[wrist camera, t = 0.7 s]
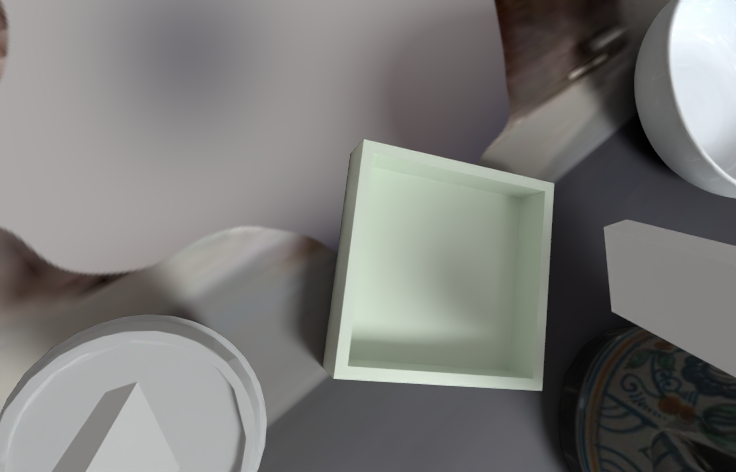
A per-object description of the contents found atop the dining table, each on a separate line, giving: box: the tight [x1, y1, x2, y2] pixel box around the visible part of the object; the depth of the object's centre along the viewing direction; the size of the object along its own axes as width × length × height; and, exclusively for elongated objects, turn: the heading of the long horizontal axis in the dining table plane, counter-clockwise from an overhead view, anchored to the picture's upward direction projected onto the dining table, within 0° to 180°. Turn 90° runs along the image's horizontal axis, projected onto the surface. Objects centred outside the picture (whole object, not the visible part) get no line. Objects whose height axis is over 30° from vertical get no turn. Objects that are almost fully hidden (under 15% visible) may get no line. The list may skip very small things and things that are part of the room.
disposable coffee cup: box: [0, 314, 267, 472], centre depth 21 cm, size 10×10×12 cm
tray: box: [323, 139, 554, 391], centre depth 31 cm, size 16×16×4 cm
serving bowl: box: [634, 0, 736, 198], centre depth 39 cm, size 21×21×7 cm
